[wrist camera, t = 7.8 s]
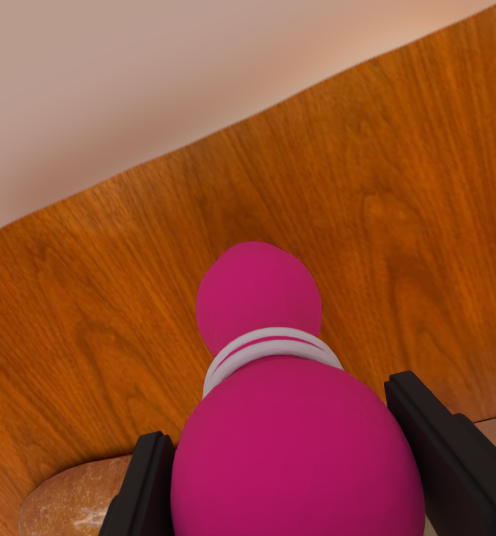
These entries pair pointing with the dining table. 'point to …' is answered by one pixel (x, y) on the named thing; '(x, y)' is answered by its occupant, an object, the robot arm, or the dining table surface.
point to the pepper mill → (285, 419)
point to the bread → (73, 500)
